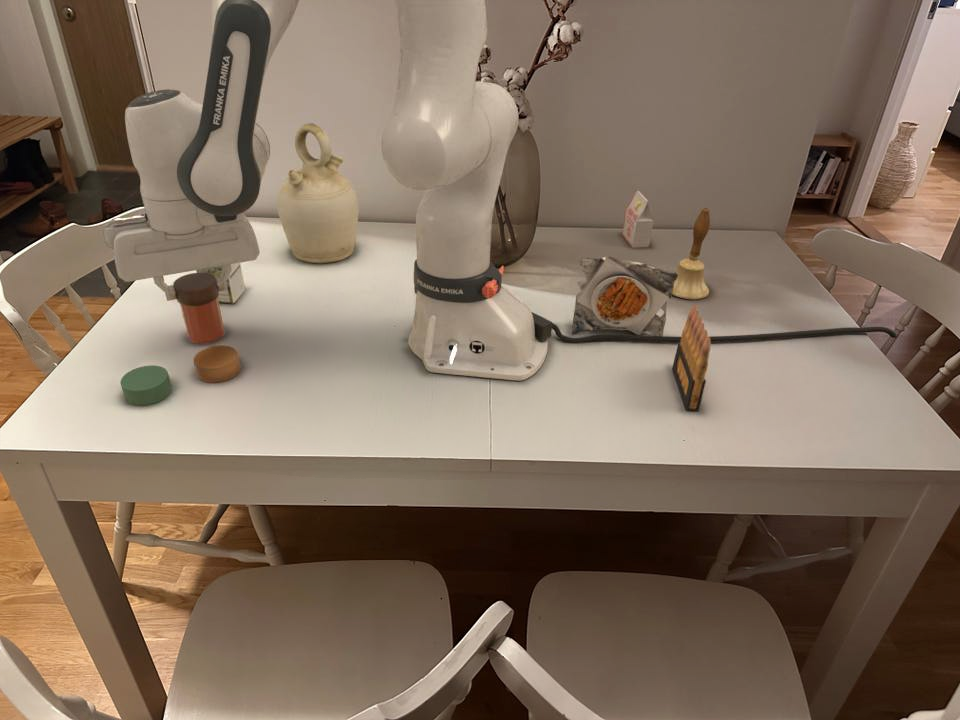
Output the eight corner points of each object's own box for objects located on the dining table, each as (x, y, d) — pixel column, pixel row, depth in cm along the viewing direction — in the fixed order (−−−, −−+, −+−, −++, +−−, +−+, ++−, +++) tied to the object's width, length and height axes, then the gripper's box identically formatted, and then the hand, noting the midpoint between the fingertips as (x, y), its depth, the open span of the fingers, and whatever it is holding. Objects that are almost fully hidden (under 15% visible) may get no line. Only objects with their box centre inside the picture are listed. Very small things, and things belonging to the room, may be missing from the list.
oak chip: (248, 364, 105) (246, 349, 103) (224, 386, 100) (221, 372, 98) (214, 356, 106) (210, 341, 105) (188, 377, 101) (184, 363, 100)
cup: (231, 329, 113) (224, 291, 109) (210, 346, 108) (201, 307, 105) (203, 323, 114) (194, 285, 110) (181, 339, 110) (171, 301, 106)
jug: (334, 229, 148) (323, 109, 134) (376, 253, 138) (369, 127, 124) (269, 247, 139) (250, 121, 125) (310, 275, 130) (294, 141, 116)
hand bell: (692, 277, 134) (710, 198, 125) (717, 296, 128) (738, 215, 119) (655, 282, 132) (671, 202, 123) (679, 302, 125) (697, 220, 116)
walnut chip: (227, 291, 109) (224, 276, 108) (202, 309, 104) (199, 294, 103) (193, 284, 111) (190, 269, 109) (168, 302, 106) (164, 287, 104)
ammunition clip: (671, 368, 107) (687, 301, 101) (683, 369, 107) (699, 301, 101) (685, 410, 99) (703, 340, 92) (698, 411, 99) (717, 340, 92)
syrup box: (246, 289, 124) (233, 213, 116) (233, 305, 119) (218, 227, 111) (216, 286, 125) (200, 211, 117) (201, 302, 120) (184, 224, 112)
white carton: (638, 234, 151) (645, 190, 145) (648, 247, 145) (657, 201, 140) (622, 234, 150) (629, 190, 145) (632, 247, 145) (639, 202, 139)
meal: (571, 336, 115) (580, 264, 107) (572, 323, 118) (581, 253, 111) (662, 346, 113) (678, 274, 105) (661, 332, 116) (676, 262, 109)
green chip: (181, 384, 100) (177, 370, 98) (152, 409, 95) (147, 394, 93) (145, 376, 101) (141, 361, 100) (115, 400, 96) (110, 385, 95)
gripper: (100, 228, 93) (126, 316, 101) (254, 207, 101) (267, 290, 109) (98, 212, 98) (123, 297, 105) (245, 192, 106) (258, 273, 113)
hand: (197, 293), depth 107 cm, fingers closed on walnut chip, 6 cm apart
